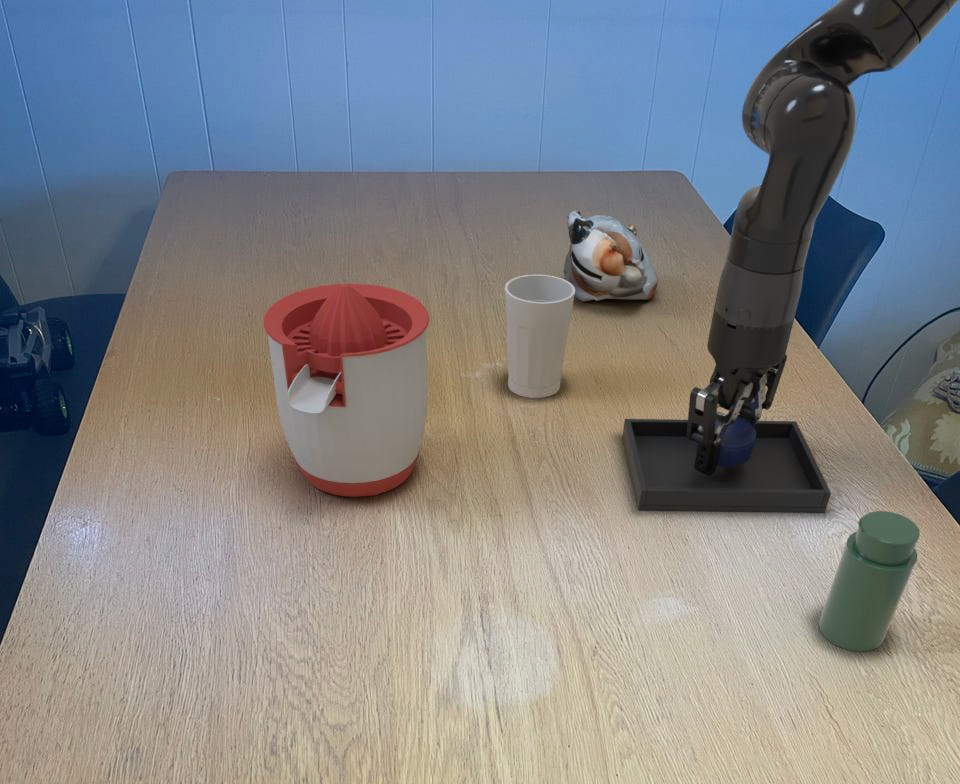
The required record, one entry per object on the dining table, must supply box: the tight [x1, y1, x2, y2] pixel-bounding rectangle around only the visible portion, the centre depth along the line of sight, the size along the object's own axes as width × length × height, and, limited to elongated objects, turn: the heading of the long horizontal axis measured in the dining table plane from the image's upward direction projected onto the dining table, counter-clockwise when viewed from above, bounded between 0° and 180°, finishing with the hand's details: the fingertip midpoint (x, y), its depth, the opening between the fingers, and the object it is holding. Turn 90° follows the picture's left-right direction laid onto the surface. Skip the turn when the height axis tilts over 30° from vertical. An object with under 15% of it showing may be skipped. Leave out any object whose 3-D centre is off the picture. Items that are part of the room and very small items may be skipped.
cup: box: [504, 274, 575, 399], centre depth 113 cm, size 8×8×12 cm
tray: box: [621, 418, 832, 513], centre depth 103 cm, size 19×14×2 cm
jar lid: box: [696, 418, 756, 467], centre depth 101 cm, size 6×6×2 cm
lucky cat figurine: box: [563, 209, 659, 303], centre depth 133 cm, size 15×12×14 cm
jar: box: [818, 510, 921, 653], centre depth 82 cm, size 6×6×11 cm
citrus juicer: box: [263, 283, 430, 498], centre depth 95 cm, size 16×17×20 cm
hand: (721, 459), depth 103 cm, fingers closed on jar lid, 5 cm apart
